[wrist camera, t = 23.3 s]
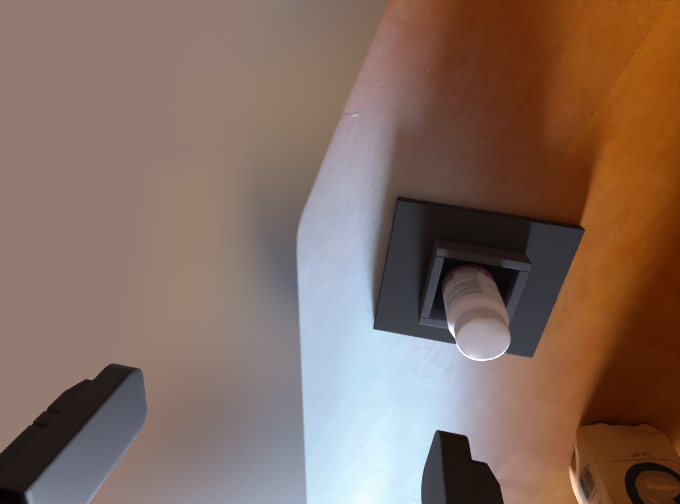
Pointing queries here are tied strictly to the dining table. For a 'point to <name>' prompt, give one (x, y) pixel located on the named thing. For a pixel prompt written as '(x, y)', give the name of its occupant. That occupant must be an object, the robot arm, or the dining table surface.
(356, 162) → the dining table surface
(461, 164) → the dining table surface
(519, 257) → the pad
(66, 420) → the robot arm
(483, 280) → the pill bottle
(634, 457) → the coffee package
